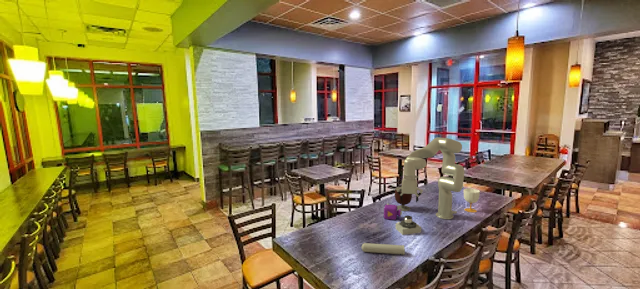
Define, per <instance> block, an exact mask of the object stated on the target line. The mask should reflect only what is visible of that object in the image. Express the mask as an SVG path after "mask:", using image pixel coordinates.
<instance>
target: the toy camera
mask: <svg viewBox="0 0 640 289" xmlns="http://www.w3.org/2000/svg"><path fill="white" fill-rule="evenodd" d="M397 206H398V204H397V205H396V204H391V203H386V204H385V205H384V208H383V218H384V219H386V220H394V221H395V220H397V217H399V218H401V216H402V215H403V211H401V209H399V210H397Z"/></svg>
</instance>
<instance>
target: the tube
mask: <svg viewBox="0 0 640 289" xmlns="http://www.w3.org/2000/svg"><path fill="white" fill-rule="evenodd" d="M405 249H406V248H405V245H404V244H401V245H400V244H386V243H385V244H384V243H369V242H364V243H362V245H361V251H363V253H372V254H373V253H375V254H387V255H388V254H389V255H391V254H392V255H400V254H401V255H402V256H405V254H406V251H405Z"/></svg>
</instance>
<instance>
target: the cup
mask: <svg viewBox="0 0 640 289" xmlns="http://www.w3.org/2000/svg"><path fill="white" fill-rule="evenodd" d="M480 193H481V191H480V190H479V189H477V188H471V187H469V188H468V187H466V188H464V189H463V198H464V200H465V201H466V202H467V203H469V205H470V206H469V208H468V207H467V208H464V209H463V210H464V211H465V212H467V213H477V212H478V210H476V209H474V208H472V205H473V204H476V203H477V202H478V201H479V198H480V195H481V194H480Z"/></svg>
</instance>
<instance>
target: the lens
mask: <svg viewBox="0 0 640 289" xmlns="http://www.w3.org/2000/svg"><path fill="white" fill-rule="evenodd" d="M403 218H404V224H406V225H412V221H413V216H412V215H404V217H403Z"/></svg>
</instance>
